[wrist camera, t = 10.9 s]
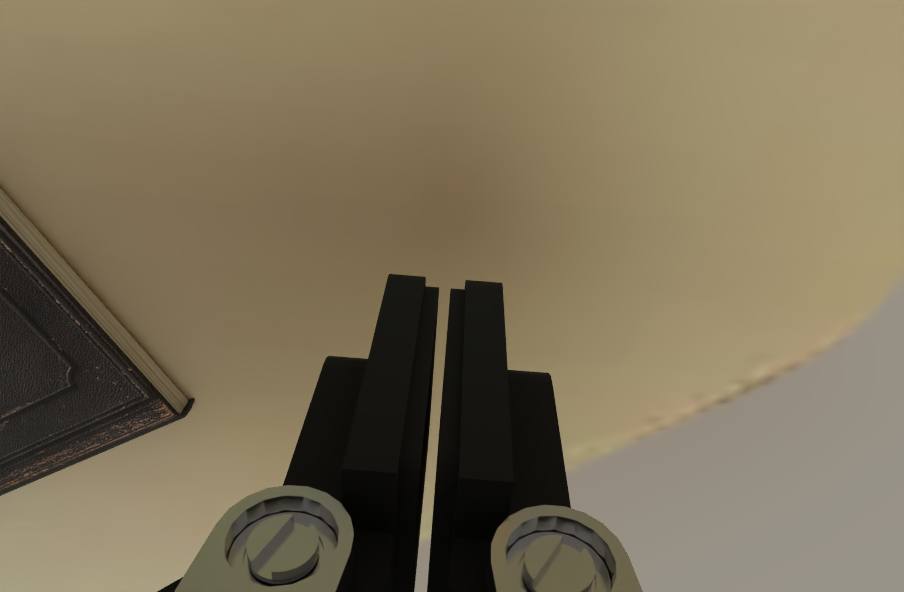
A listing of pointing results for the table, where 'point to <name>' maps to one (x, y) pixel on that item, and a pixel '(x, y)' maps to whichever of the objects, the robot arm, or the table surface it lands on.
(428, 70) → the table surface
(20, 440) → the hardcover book
